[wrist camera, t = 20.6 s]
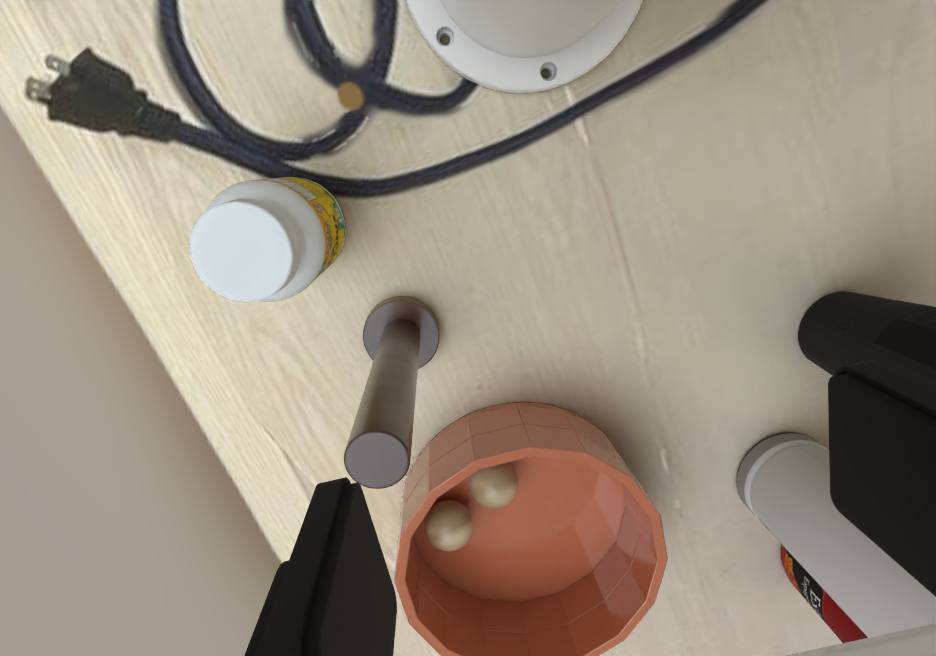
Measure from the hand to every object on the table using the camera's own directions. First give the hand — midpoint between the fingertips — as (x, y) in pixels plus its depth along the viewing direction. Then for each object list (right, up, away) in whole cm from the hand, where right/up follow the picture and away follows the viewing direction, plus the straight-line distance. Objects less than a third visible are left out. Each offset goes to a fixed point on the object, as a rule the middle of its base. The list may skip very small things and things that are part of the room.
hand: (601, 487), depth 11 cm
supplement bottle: (-12, +9, +20) cm, 25 cm away
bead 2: (-1, -6, +23) cm, 24 cm away
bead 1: (-4, -9, +23) cm, 25 cm away
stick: (-7, +3, +22) cm, 23 cm away
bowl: (+1, -9, +26) cm, 27 cm away
